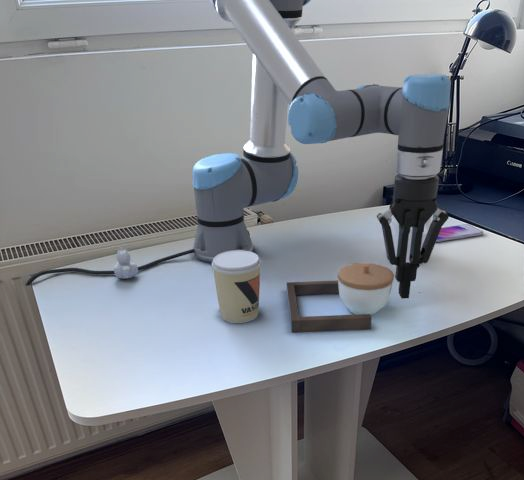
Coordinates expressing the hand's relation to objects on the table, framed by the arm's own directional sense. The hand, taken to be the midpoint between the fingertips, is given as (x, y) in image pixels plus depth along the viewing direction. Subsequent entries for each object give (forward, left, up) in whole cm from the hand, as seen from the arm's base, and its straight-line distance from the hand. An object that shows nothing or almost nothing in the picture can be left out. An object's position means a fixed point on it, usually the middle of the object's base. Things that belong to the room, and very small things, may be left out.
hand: (403, 295), depth 102 cm
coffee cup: (-33, 0, -3) cm, 33 cm away
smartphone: (+23, +40, -3) cm, 46 cm away
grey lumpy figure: (-60, +20, -3) cm, 63 cm away
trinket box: (-8, 0, -3) cm, 8 cm away
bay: (-15, 0, -3) cm, 15 cm away
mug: (+8, +24, -3) cm, 25 cm away
